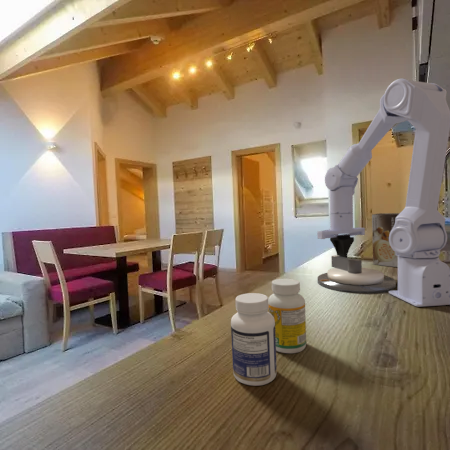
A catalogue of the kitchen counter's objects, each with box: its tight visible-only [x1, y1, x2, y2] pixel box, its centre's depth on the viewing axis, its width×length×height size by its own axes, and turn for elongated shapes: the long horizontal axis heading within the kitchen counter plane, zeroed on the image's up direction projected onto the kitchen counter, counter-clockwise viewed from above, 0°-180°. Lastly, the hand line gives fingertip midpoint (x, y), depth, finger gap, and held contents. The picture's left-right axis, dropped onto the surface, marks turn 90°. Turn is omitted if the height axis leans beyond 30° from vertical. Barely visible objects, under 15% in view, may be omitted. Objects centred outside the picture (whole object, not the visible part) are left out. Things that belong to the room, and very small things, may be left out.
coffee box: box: [371, 212, 401, 268], centre depth 97 cm, size 9×6×16 cm
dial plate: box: [317, 272, 397, 294], centre depth 78 cm, size 18×18×1 cm
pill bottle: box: [230, 292, 278, 387], centre depth 38 cm, size 5×5×10 cm
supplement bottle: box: [267, 278, 307, 354], centre depth 46 cm, size 5×5×10 cm
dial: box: [327, 254, 385, 285], centre depth 79 cm, size 14×13×5 cm
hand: (342, 263), depth 85 cm, fingers closed
